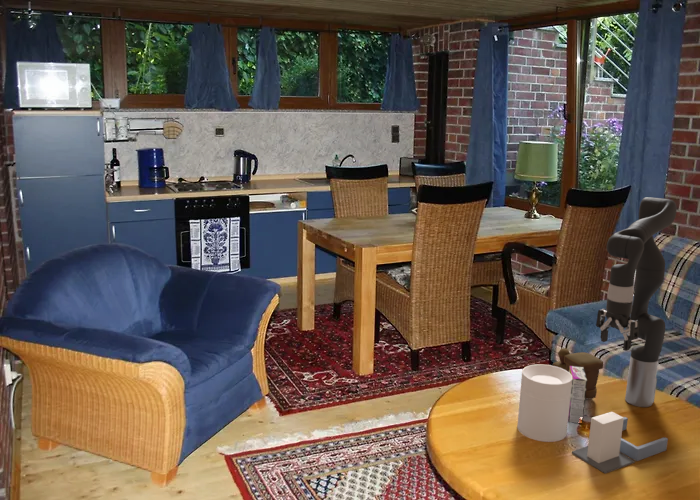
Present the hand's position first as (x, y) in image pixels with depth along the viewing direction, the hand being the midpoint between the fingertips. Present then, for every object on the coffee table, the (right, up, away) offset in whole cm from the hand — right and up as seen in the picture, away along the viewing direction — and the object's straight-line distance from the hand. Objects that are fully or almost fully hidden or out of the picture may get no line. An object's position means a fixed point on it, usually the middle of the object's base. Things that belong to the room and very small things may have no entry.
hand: (615, 345), depth 220 cm
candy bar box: (-7, -27, +19) cm, 34 cm away
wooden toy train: (-3, -23, +36) cm, 43 cm away
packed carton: (-7, -33, -7) cm, 35 cm away
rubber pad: (-7, -34, -7) cm, 35 cm away
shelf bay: (+5, -32, +2) cm, 32 cm away
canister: (-21, -29, +9) cm, 37 cm away
